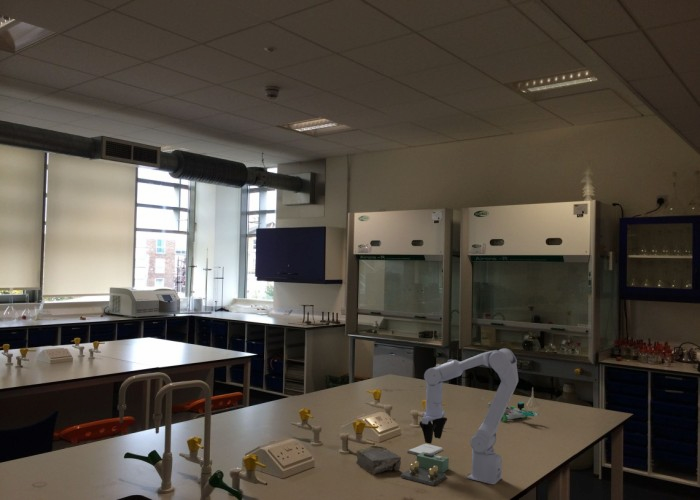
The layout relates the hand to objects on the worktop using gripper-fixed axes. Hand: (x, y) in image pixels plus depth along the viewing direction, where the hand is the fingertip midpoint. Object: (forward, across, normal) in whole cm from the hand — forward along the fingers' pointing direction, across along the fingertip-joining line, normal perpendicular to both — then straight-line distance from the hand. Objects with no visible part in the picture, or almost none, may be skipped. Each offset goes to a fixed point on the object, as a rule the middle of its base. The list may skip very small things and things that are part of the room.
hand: (433, 440), depth 202 cm
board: (+10, 0, 0) cm, 10 cm away
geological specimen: (+10, +12, -16) cm, 22 cm away
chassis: (+9, +11, +2) cm, 15 cm away
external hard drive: (+10, -15, -10) cm, 21 cm away
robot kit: (+10, -87, +2) cm, 88 cm away
